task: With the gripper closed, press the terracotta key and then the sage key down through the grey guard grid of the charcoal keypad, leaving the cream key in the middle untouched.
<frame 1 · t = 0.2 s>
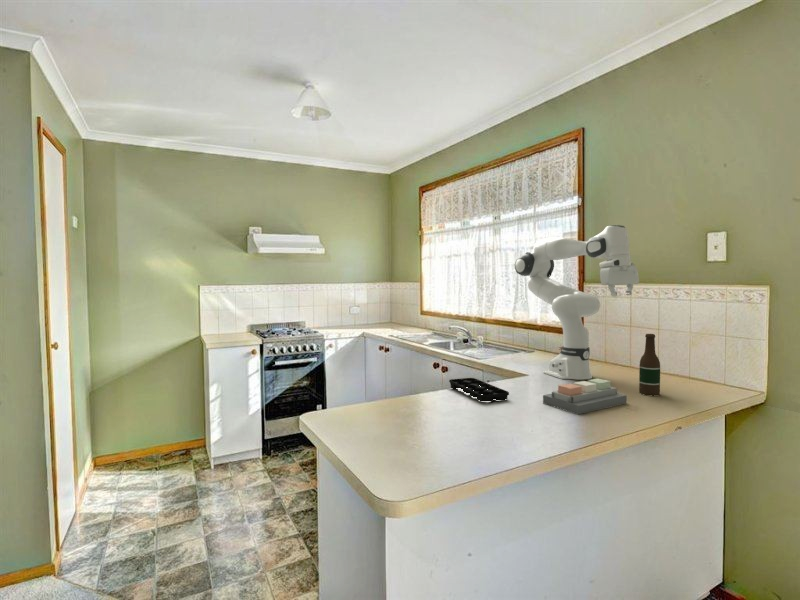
hand: (621, 295, 189), 39 cm above the countertop, tool pointing down, fingers open, 8 cm apart
sage key: (599, 384, 171), point 6 cm above the countertop, slide at 0.0 cm
cream key: (584, 387, 168), point 6 cm above the countertop, slide at 0.0 cm
keypad: (584, 403, 168), on the countertop
beer bottle: (649, 394, 180), on the countertop
egg carton: (477, 394, 184), on the countertop
terracotta key: (569, 390, 164), point 6 cm above the countertop, slide at 0.0 cm
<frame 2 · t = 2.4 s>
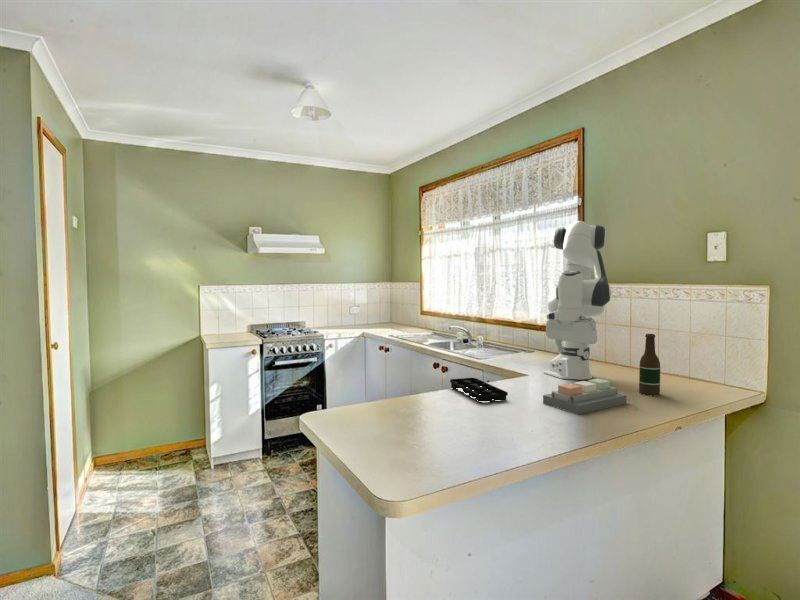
hand: (570, 353, 163), 19 cm above the countertop, tool pointing down, fingers open, 7 cm apart
nothing on the countertop moved.
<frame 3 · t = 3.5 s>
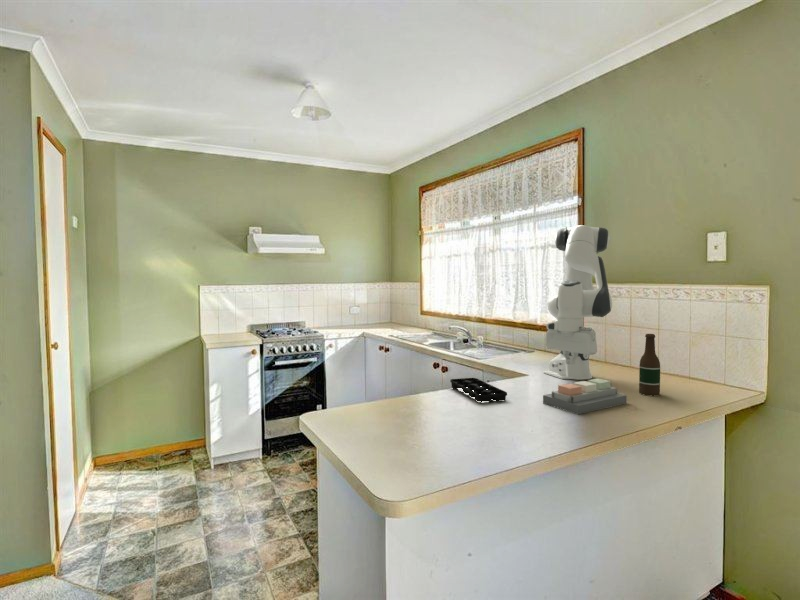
hand: (570, 364, 163), 16 cm above the countertop, tool pointing down, fingers closed
nothing on the countertop moved.
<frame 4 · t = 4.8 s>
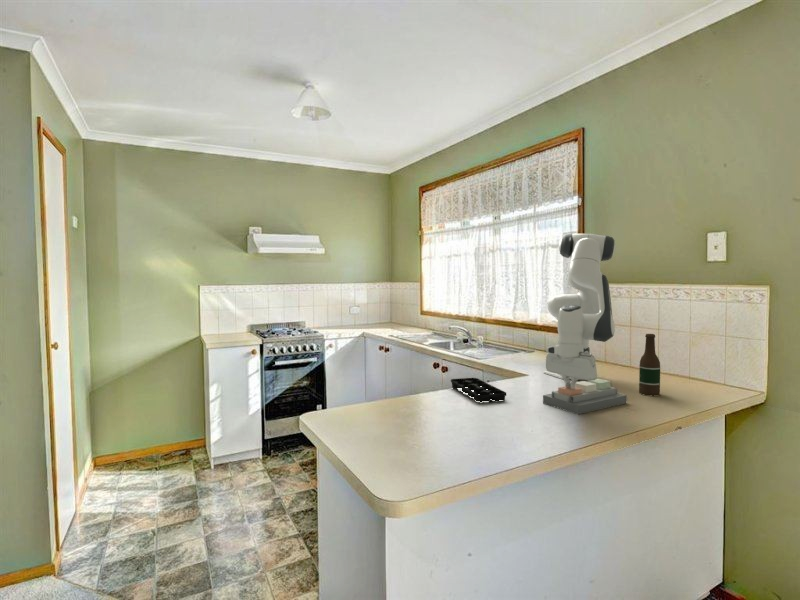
hand: (570, 388, 164), 7 cm above the countertop, tool pointing down, fingers closed, pressing on terracotta key
terracotta key: (569, 392, 164), point 5 cm above the countertop, slide at 0.8 cm, touching gripper
everything else where it was.
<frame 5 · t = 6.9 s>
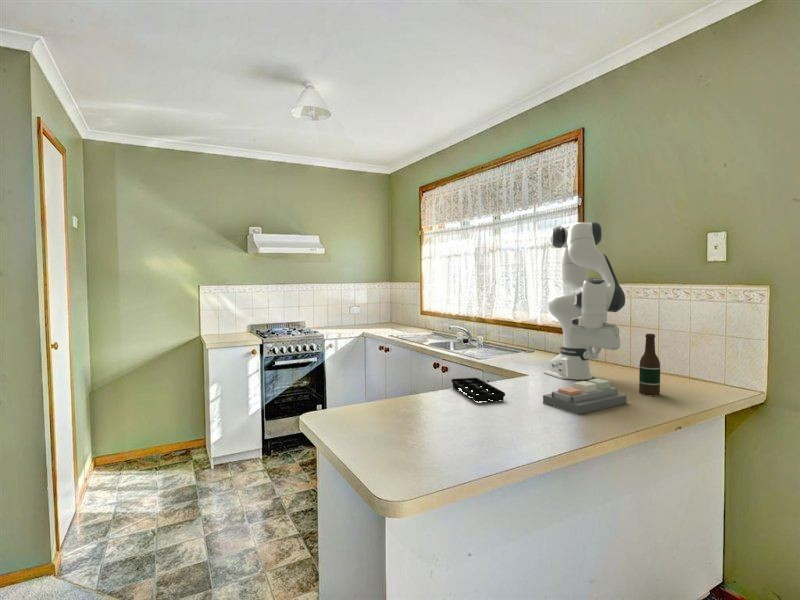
hand: (593, 358, 170), 16 cm above the countertop, tool pointing down, fingers closed
terracotta key: (569, 393, 164), point 5 cm above the countertop, slide at 1.3 cm
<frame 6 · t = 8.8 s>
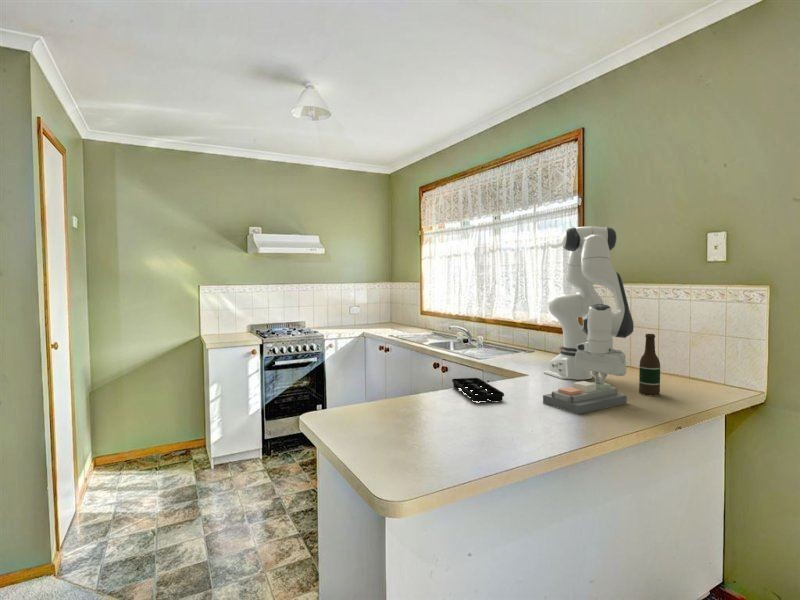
hand: (599, 383, 171), 6 cm above the countertop, tool pointing down, fingers closed, pressing on sage key
sage key: (599, 387, 171), point 5 cm above the countertop, slide at 1.1 cm, touching gripper
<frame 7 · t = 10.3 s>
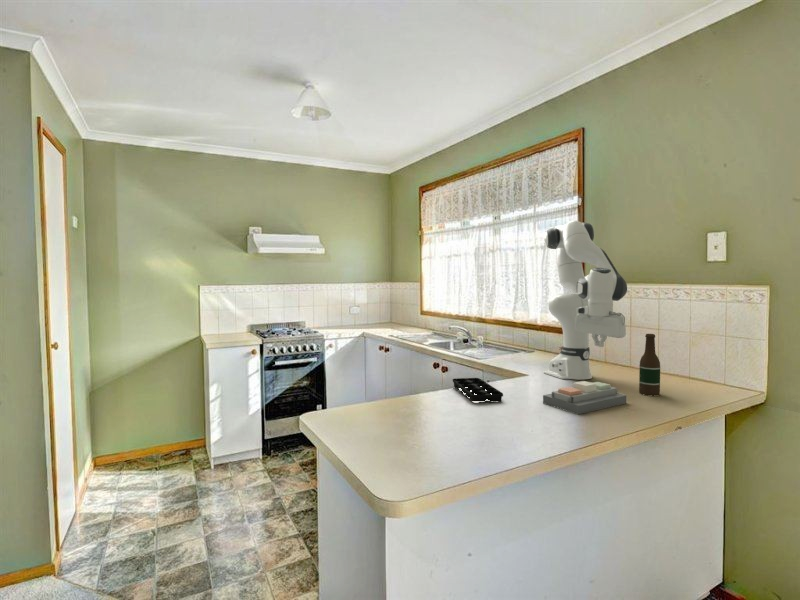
hand: (598, 346, 173), 20 cm above the countertop, tool pointing down, fingers closed
sage key: (599, 387, 171), point 5 cm above the countertop, slide at 1.3 cm
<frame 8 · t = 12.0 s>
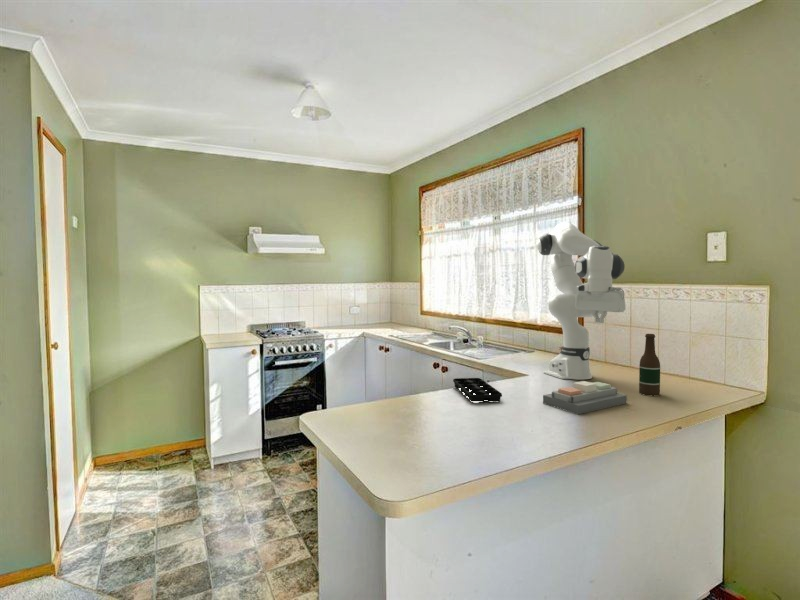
hand: (599, 322, 176), 29 cm above the countertop, tool pointing down, fingers closed
at the end: terracotta key slide at 1.3 cm; sage key slide at 1.3 cm; cream key slide at 0.0 cm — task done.
